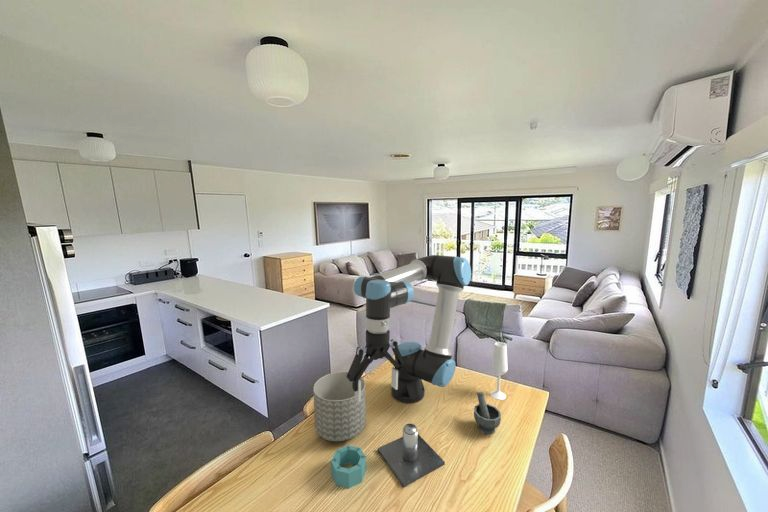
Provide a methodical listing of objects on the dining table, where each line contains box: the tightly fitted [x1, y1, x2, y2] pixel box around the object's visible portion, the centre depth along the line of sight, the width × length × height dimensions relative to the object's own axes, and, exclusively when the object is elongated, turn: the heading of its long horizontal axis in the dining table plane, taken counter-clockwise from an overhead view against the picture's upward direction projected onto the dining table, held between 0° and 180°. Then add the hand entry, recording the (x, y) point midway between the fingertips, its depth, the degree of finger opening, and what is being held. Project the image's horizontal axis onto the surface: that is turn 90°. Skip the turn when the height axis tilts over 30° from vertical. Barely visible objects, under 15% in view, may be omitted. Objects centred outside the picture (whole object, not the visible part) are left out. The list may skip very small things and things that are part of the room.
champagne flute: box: [490, 341, 509, 401], centre depth 130 cm, size 7×7×24 cm
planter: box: [313, 371, 367, 442], centre depth 110 cm, size 19×19×18 cm
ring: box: [330, 444, 367, 489], centre depth 92 cm, size 10×10×5 cm
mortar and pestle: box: [473, 391, 502, 435], centre depth 111 cm, size 11×9×12 cm
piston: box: [377, 423, 446, 488], centre depth 97 cm, size 16×16×11 cm
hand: (376, 393), depth 94 cm, fingers open, 13 cm apart
